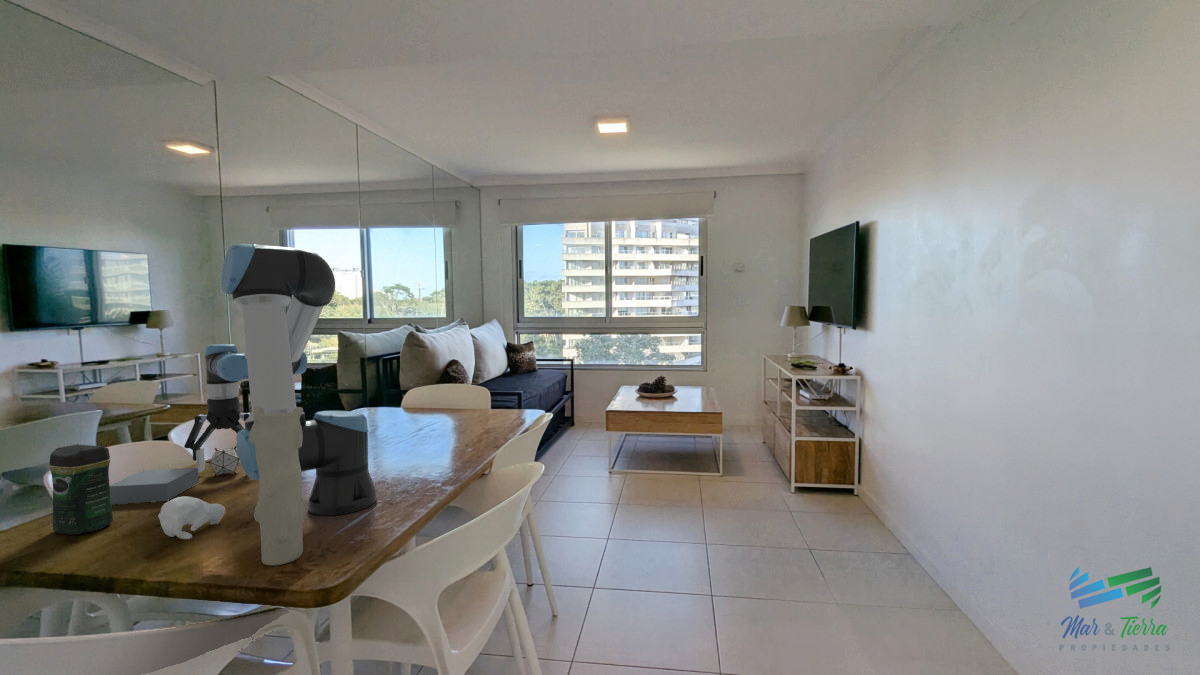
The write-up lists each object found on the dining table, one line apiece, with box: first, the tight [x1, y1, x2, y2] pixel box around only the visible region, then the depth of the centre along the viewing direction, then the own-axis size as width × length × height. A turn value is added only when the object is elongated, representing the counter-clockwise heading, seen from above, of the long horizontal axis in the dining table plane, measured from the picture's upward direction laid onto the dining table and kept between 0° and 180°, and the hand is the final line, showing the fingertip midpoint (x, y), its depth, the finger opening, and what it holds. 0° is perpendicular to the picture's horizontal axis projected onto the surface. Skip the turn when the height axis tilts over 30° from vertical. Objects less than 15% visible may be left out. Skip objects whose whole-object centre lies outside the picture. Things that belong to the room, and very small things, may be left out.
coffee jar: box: [48, 443, 114, 536], centre depth 110 cm, size 10×8×19 cm
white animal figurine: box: [157, 496, 226, 540], centre depth 109 cm, size 6×8×12 cm
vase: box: [249, 406, 306, 566], centre depth 97 cm, size 9×8×30 cm
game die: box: [205, 445, 241, 477], centre depth 147 cm, size 9×8×10 cm
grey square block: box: [109, 467, 199, 506], centre depth 131 cm, size 13×13×5 cm
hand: (225, 469), depth 147 cm, fingers open, 12 cm apart
